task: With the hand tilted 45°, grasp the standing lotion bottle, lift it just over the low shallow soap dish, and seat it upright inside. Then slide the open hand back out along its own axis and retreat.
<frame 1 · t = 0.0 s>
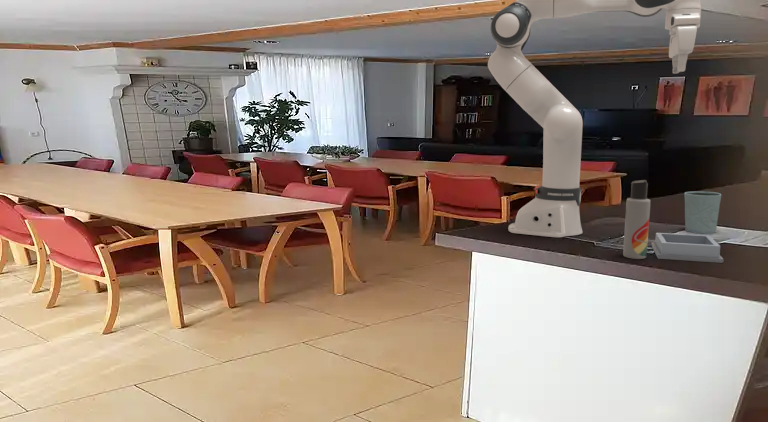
hand: (678, 72, 171), 48 cm above the countertop, tool pointing down, fingers open, 8 cm apart
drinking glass: (699, 231, 189), on the countertop
shallow soap dish: (685, 253, 160), on the countertop
lotion bottle: (634, 257, 157), on the countertop
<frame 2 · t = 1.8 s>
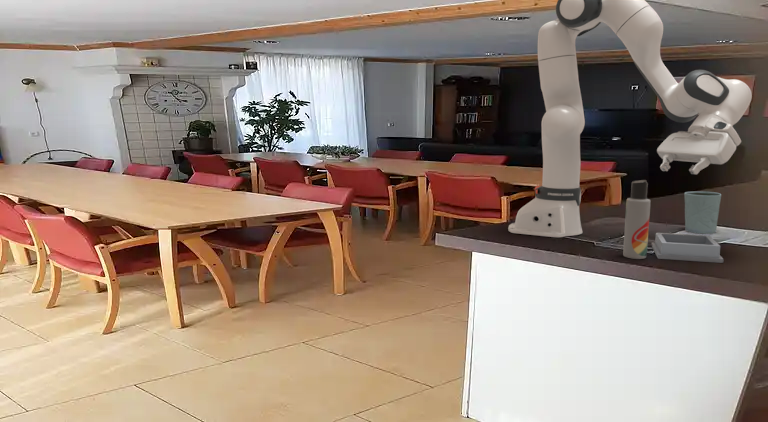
hand: (677, 171, 158), 22 cm above the countertop, tool tilted 45°, fingers open, 8 cm apart
nothing on the countertop moved.
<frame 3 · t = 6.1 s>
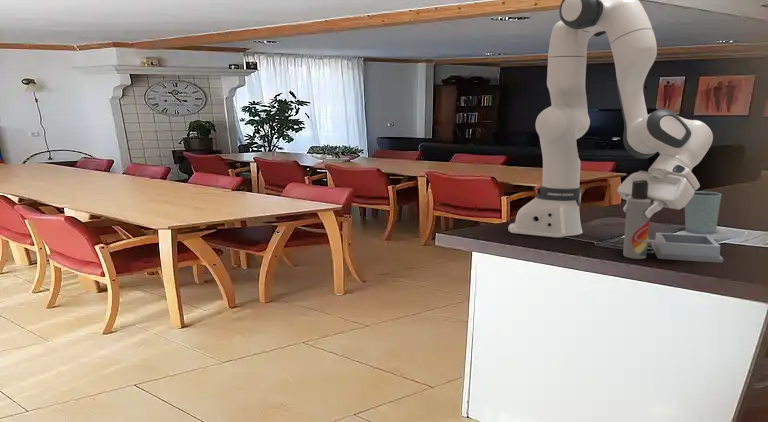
hand: (635, 213, 155), 11 cm above the countertop, tool tilted 45°, fingers closed on lotion bottle, 5 cm apart
lotion bottle: (634, 257, 157), on the countertop, touching gripper
everything else where it was.
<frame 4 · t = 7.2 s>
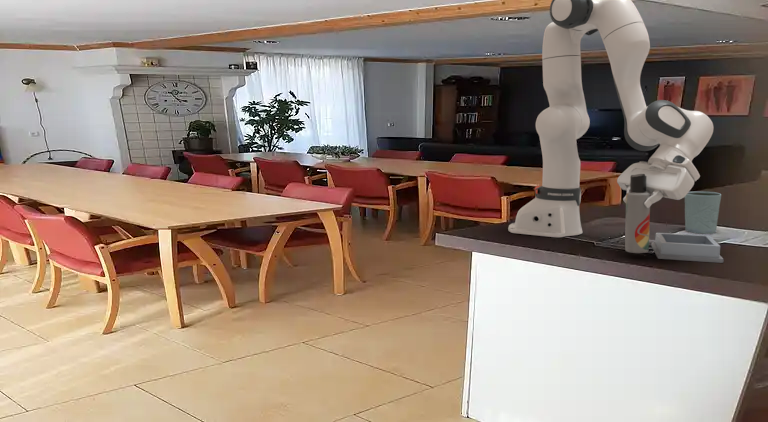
hand: (635, 204, 155), 14 cm above the countertop, tool tilted 45°, fingers closed on lotion bottle, 5 cm apart
lotion bottle: (636, 251, 156), point 1 cm above the countertop, touching gripper
everything else where it was.
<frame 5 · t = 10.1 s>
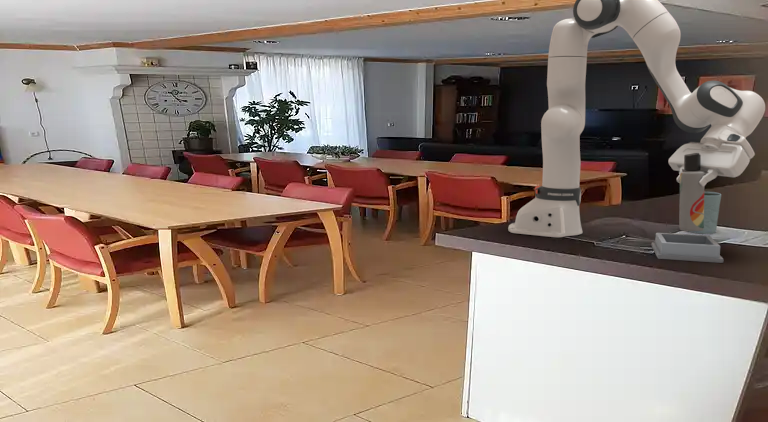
hand: (689, 183, 157), 19 cm above the countertop, tool tilted 45°, fingers closed on lotion bottle, 5 cm apart
lotion bottle: (691, 230, 158), point 6 cm above the countertop, touching gripper
everything else where it was.
when the fingers open (13 cm above the countertop, at t = 11.7 s): lotion bottle moves 2 cm, resting on shallow soap dish.
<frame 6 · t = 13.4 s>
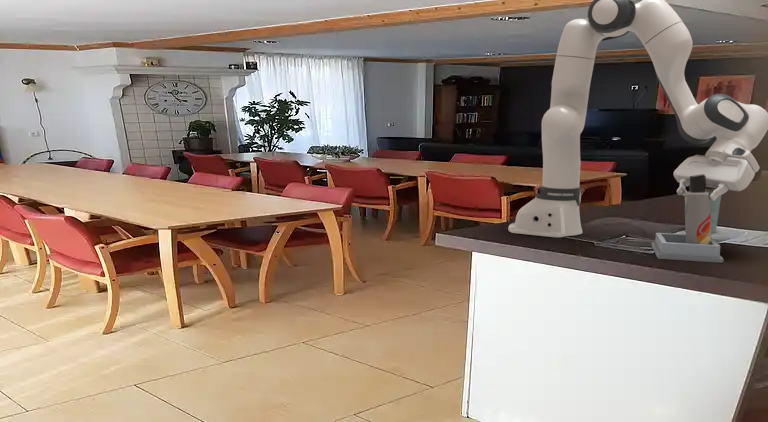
hand: (694, 196, 158), 15 cm above the countertop, tool tilted 45°, fingers open, 8 cm apart
lotion bottle: (698, 252, 157), point 1 cm above the countertop, touching gripper, shallow soap dish
everything else where it was.
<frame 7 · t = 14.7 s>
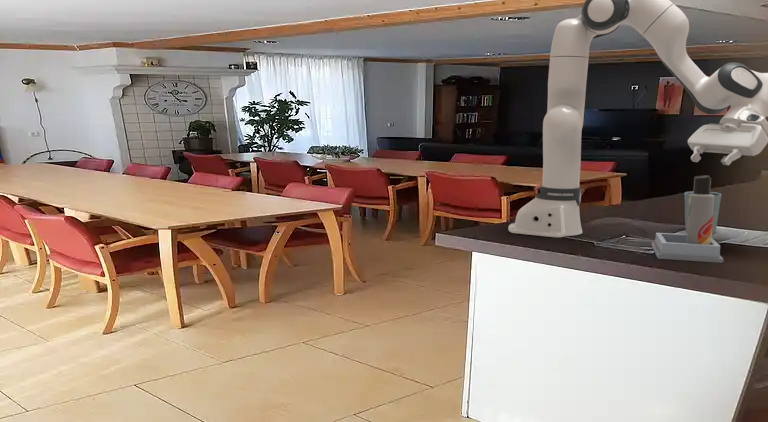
hand: (708, 161, 161), 24 cm above the countertop, tool tilted 45°, fingers open, 8 cm apart
lotion bottle: (698, 253, 157), point 1 cm above the countertop, touching shallow soap dish
everything else where it was.
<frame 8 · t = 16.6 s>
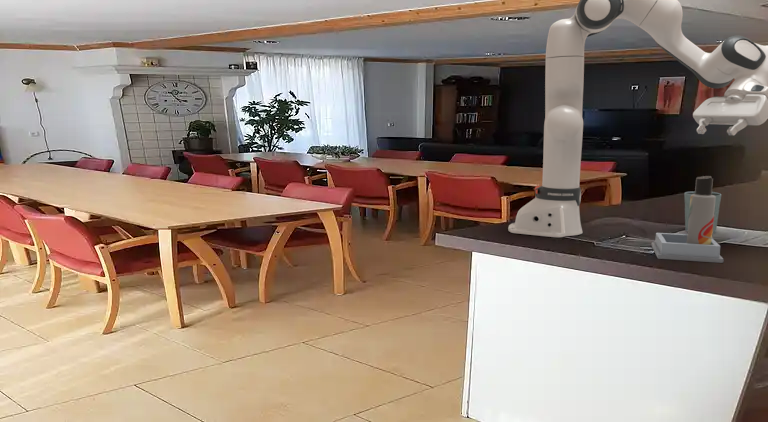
hand: (714, 133, 163), 31 cm above the countertop, tool tilted 45°, fingers open, 8 cm apart
nothing on the countertop moved.
at the end: lotion bottle 3.5 cm off-centre on the shallow soap dish, point 0.8 cm above the shallow soap dish's base; lotion bottle tilted 0°; the gripper is holding nothing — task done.
